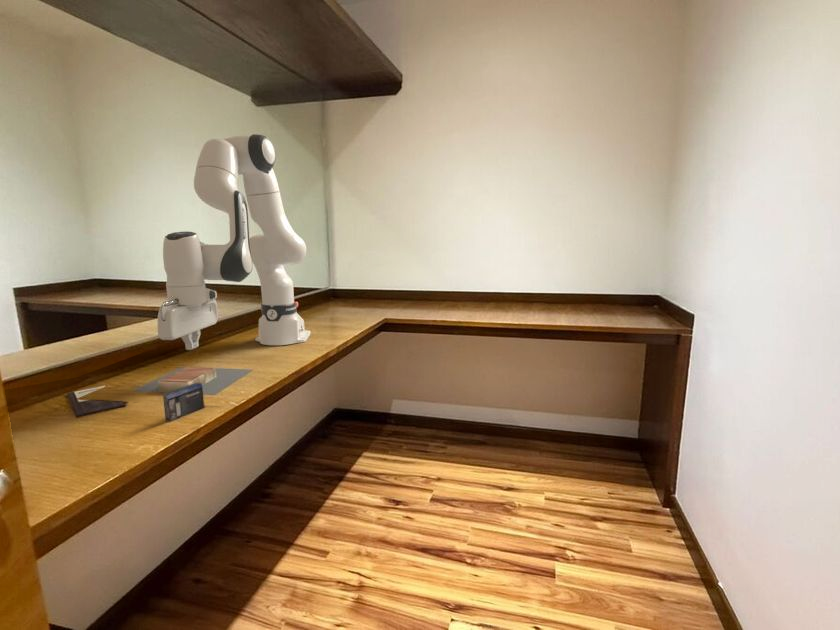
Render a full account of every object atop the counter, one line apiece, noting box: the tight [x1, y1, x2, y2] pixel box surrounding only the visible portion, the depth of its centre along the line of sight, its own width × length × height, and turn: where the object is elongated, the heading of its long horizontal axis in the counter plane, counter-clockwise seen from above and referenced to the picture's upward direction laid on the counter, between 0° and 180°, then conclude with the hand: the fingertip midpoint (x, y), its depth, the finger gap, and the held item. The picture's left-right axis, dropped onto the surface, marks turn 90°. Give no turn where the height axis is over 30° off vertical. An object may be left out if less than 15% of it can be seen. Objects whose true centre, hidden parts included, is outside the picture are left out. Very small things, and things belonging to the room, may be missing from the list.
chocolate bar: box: [66, 384, 127, 418], centre depth 103 cm, size 9×1×18 cm
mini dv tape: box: [162, 382, 205, 423], centre depth 95 cm, size 8×2×6 cm, turn 154°
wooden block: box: [158, 366, 216, 392], centre depth 112 cm, size 3×8×12 cm
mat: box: [130, 366, 254, 396], centre depth 116 cm, size 20×22×1 cm
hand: (192, 348), depth 114 cm, fingers closed
